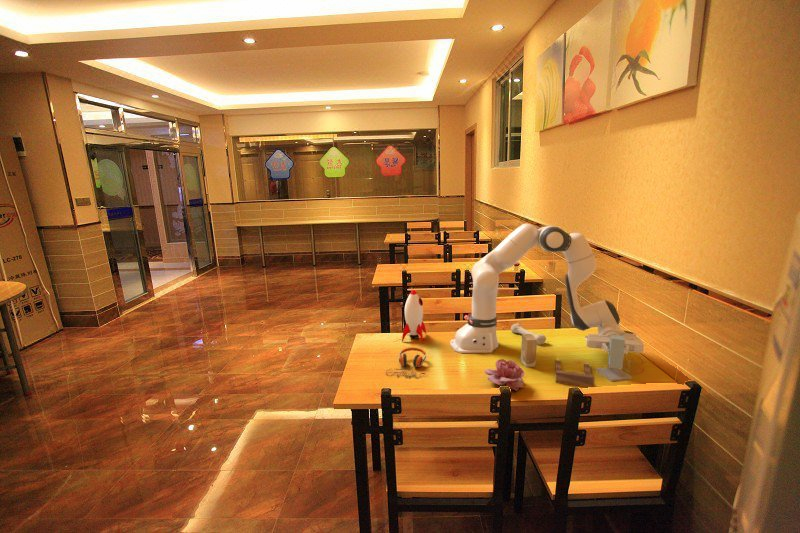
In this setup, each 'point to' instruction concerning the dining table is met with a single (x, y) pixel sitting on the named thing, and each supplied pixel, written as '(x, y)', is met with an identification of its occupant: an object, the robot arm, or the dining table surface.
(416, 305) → the rocket
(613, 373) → the coaster
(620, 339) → the block
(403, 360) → the headphones
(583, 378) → the channel
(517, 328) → the dog toy
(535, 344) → the skincare box
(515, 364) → the flower
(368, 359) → the dining table surface
